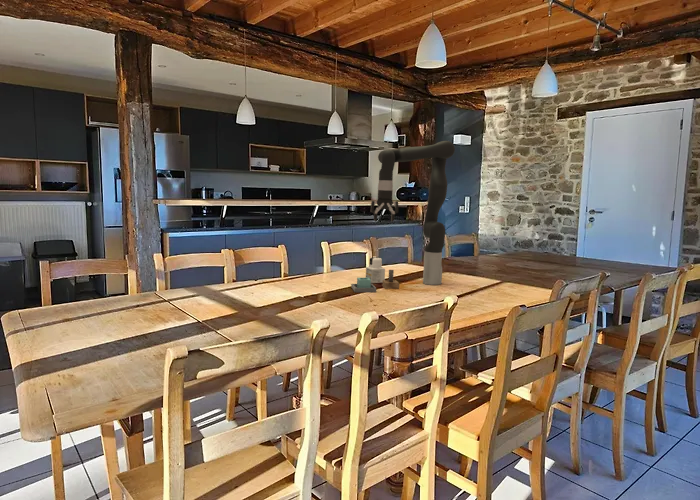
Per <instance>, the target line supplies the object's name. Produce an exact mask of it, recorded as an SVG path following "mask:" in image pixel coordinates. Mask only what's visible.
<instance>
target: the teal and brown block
mask: <svg viewBox="0 0 700 500" xmlns="http://www.w3.org/2000/svg"><path fill="white" fill-rule="evenodd" d="M394 270H395V269H388V279H387V280H386V279H385V280H383V282H382V285H381V286H382V287H383V288H384V289H385V290H399V289H400V282H399V281H397V280H396V279H395V280H394Z"/></svg>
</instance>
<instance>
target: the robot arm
mask: <svg viewBox="0 0 700 500" xmlns="http://www.w3.org/2000/svg"><path fill="white" fill-rule="evenodd" d="M455 151H456V147H455V145H454V143H453V142H452V141H449V140H442V141H438V142H436V143H435V144H430V145H421V146H408V147H401V148H397V149H383V150H381V151H380V152H379V153H378V155H377V158H378V159H377V160H378V161H379V163H381V167H380V169H379V172H378V183H377V184H378V185H377V200H371V202H370V213H373V220H374V222H377V221H378V212H379V211H380V210H389V212H390V214H391V215H390V222H392V223H393V222H394V220H395V215H396V214H398V213H399V201H396V200H395V201H393V190H394V189H393V188H394V183H393V180H394V179H393V178H394V176H393V175H394V168H395V165H396V163H405V162H412V161H413V162H414V161H417V160H418V161H419V160H423V159H430V158H432V162H431V173H430V181H429V182H430V183H429V187H428V198H427V199H428V200H427V205H426V212H425V217H424V221H423V227H422V232H423V235H424V237H425V238H427V239H429V241H428V244H426V245H425V246H424V257H423V272H422V273H423V275H422V284H425V285H430V286H431V285H432V286H438V285H442V284H443V283H442V280H443V266H442V260H443V259H442V256H443V250H444V246H445V238H446V227H445V225H444V224H443V223H442V222H439V221H438V218H439V212H440V210H441V208H442V206H443V205H444V203H445V201H446V198H447V194H448V192H447V191H448V180H447V179H448V178H447V176H446V164H447V159H449V158H452V157H453V156H454V154H455ZM376 204H377V207H376V208H375V205H376ZM392 206H394V208H393V207H392Z"/></svg>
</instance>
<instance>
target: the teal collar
mask: <svg viewBox="0 0 700 500" xmlns="http://www.w3.org/2000/svg"><path fill="white" fill-rule="evenodd" d="M356 284H357V288H371V284H372V283H371V279H370V278H366V277H357V278H356Z"/></svg>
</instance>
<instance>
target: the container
mask: <svg viewBox="0 0 700 500" xmlns="http://www.w3.org/2000/svg"><path fill="white" fill-rule="evenodd" d="M382 259H383V258H381V257H375V256H374V257H370V258H369V266H368V265H367V266H365V278H370V279H371V284H381V283H382V282H383V280H386V279H385V277H386V276H385V275H386V269H385V267H382V264H383V260H382Z"/></svg>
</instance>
